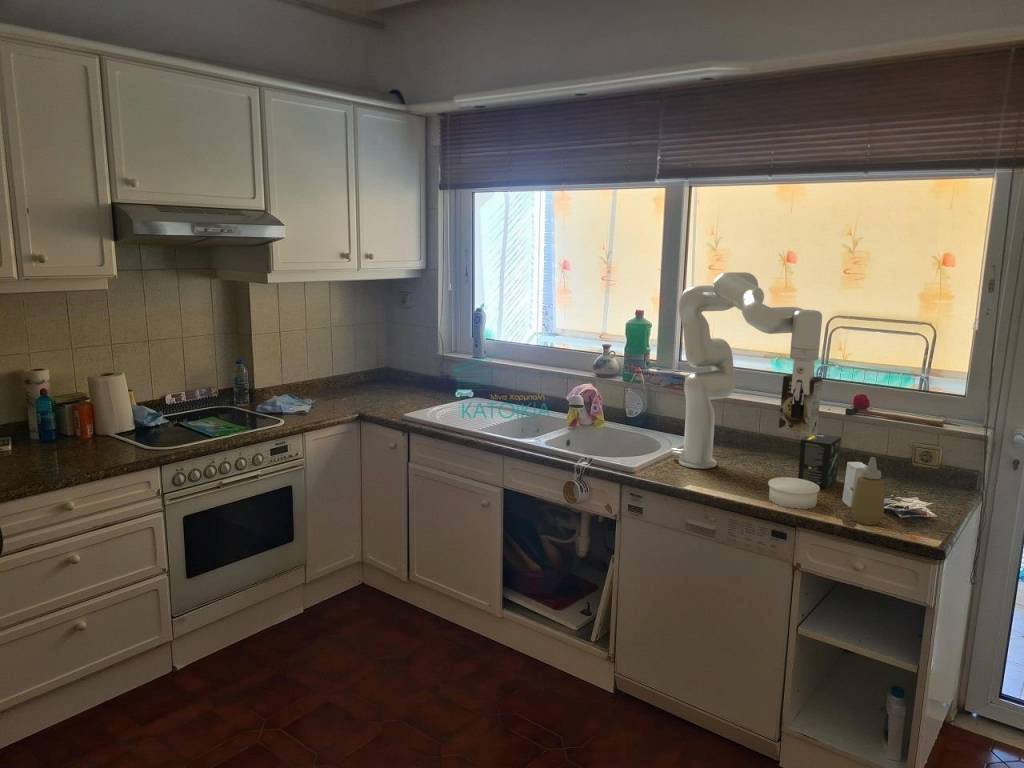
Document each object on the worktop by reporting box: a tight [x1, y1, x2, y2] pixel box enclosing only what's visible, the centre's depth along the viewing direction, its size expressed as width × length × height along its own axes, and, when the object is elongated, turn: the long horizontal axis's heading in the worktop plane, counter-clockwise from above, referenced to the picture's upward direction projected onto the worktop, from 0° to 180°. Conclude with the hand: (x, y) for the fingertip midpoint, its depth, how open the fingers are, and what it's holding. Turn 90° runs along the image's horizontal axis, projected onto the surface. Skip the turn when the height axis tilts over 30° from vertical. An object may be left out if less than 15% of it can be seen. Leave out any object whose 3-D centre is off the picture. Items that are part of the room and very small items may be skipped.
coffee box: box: [777, 373, 824, 437], centre depth 212 cm, size 9×6×16 cm
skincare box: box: [842, 461, 868, 509], centre depth 214 cm, size 6×4×12 cm
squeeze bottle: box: [851, 456, 885, 526], centre depth 200 cm, size 8×8×18 cm
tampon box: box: [797, 432, 842, 490], centre depth 234 cm, size 11×9×15 cm
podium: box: [767, 476, 821, 510], centre depth 217 cm, size 14×14×5 cm
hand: (798, 414), depth 213 cm, fingers closed on coffee box, 7 cm apart
